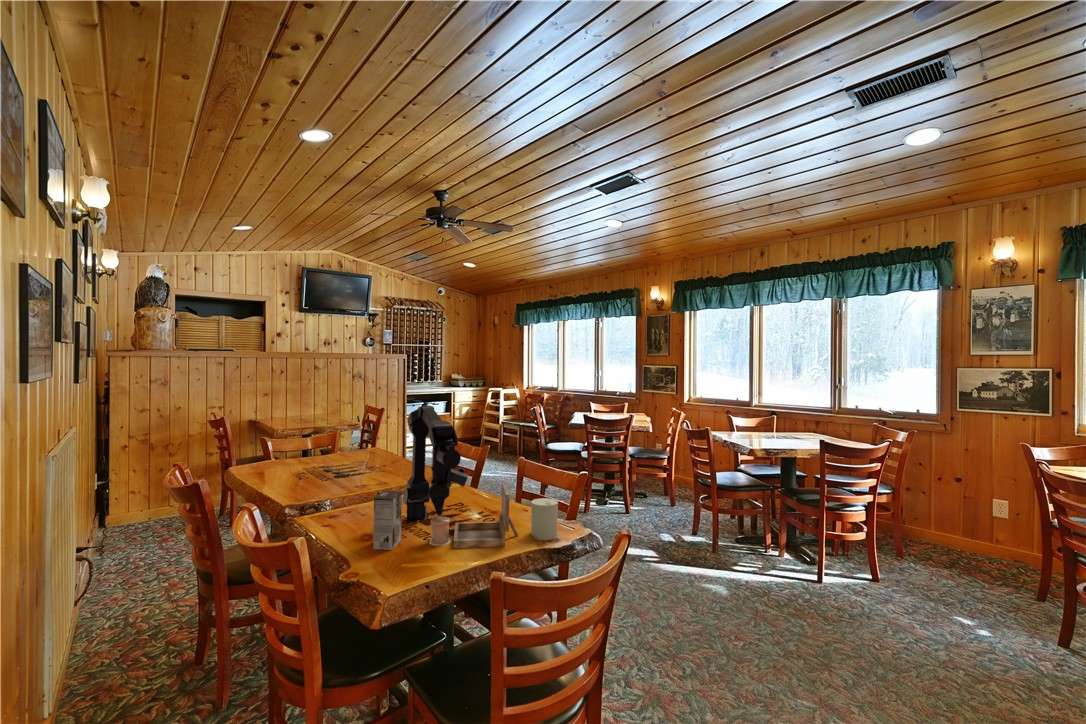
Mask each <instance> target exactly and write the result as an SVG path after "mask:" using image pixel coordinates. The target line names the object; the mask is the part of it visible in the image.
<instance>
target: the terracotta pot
mask: <svg viewBox="0 0 1086 724" xmlns="http://www.w3.org/2000/svg"><path fill="white" fill-rule="evenodd" d="M450 519H451V518H450V517H447V516H436V517H433V518H431V519H430V525H431V539H430V540H431V542H432V543H433V544H445V543H447V542H448V541H449V539H450V538H449V537H450V533H449V532H450V531H449V530H450V528H449V527H450V524H451V520H450Z"/></svg>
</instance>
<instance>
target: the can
mask: <svg viewBox="0 0 1086 724" xmlns="http://www.w3.org/2000/svg"><path fill="white" fill-rule="evenodd" d="M558 507H559V501H558V499H557V500H556V499H554V498H548V497H545V498H544V497H543V498H542V497H541V498H534V499H532V500H531V514H530V515H531V518H530V519H531V521H530V523H531V524H530V525H531V526H530V527H531V528H530V534H531V536H533V538H534V540H538V541H539V540H540V541H550V540H551V541H552V540H556V538H558V536H559V535H558V516H559V515H558V513H559V512H558V511H559V510H558V509H559V508H558Z"/></svg>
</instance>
